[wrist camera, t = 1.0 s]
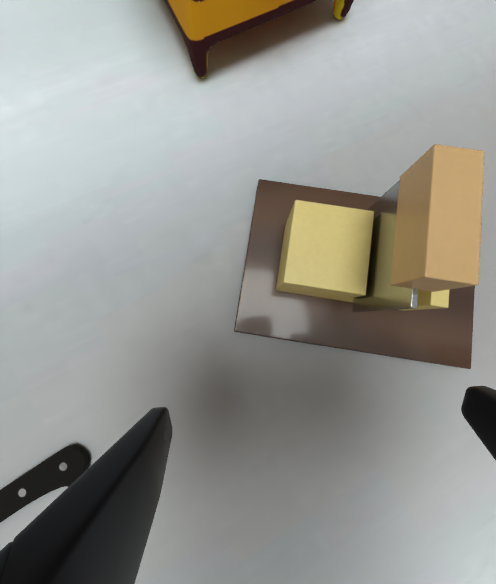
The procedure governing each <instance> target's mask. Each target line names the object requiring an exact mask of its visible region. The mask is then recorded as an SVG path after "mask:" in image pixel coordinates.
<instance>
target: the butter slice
mask: <svg viewBox="0 0 496 584" xmlns="http://www.w3.org/2000/svg"><path fill="white" fill-rule="evenodd" d="M448 304H449V290H442V291H435V292H430V291H424V290H418V298H417V308H415V309H400V310H421V309H439V308H448Z"/></svg>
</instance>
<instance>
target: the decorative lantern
mask: <svg viewBox="0 0 496 584" xmlns="http://www.w3.org/2000/svg"><path fill="white" fill-rule="evenodd" d="M164 1H165V3H166V4H167V6H168V8H169V10H170V12H171V14H172V16H173V18H174V20H175V22H176V24H177V25H178V27H179V29H180V31H181V33H182V36H183V38H184V40H185V43H186V45H187V48H188V51H189V55H190V58H191V61H192V65H193V68H194V71H195V72H196V74H197V76H199V77H200V78H204V77H206V75H207V55H208V50H209V49H210V47H212V46H213V45H214V44H215V43H217V42H219V41H221V40H224V39H226V38H228V37H231V36H233V35H236V34H238V33H240V32H243V31H245V30H247V29H250V28H252V27H255V26H257V25H259V24H262V23H264V22H266V21H269V20H271V19H274V18H276V17H278V16H281V15H283V14H285V13H288V12H290V11H293V10H295V9H297V8H300V7H302V6H305V5H307V4H309V3H312V2H314V1H316V0H164ZM352 3H353V0H334V7H333V12H334V16H335V18H336V19H339V20H340V19H342V18H343V17H345V16H346V14H347V13H348V11H349V10H350V7H351V5H352Z"/></svg>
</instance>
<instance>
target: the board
mask: <svg viewBox="0 0 496 584" xmlns="http://www.w3.org/2000/svg"><path fill="white" fill-rule="evenodd" d="M379 198H381V197H377V196H371V195H364V194H357V193H350V192H343V191H336V190H330V189H323V188H316V187H309V186H302V185H295V184H288V183H282V182H275V181H268V180H261V179H259V181H258V188H257V194H256V200H255V206H254V212H253V218H252V225H251V231H250V237H249V243H248V249H247V255H246V261H245V268H244V274H243V280H242V286H241V292H240V298H239V305H238V311H237V317H236V323H235V329H234V331H235V332H242V333H248V334H254V335H260V336H267V337H273V338H279V339H285V340H292V341H298V342H304V343H310V344H317V345H323V346H329V347H335V348H342V349H348V350H354V351H360V352H367V353H373V354H379V355H385V356H392V357H398V358H404V359H410V360H417V361H423V362H429V363H435V364H442V365H448V366H454V367H460V368H467V369H471V353H472V331H473V310H474V288H475V286H469V287H462V288H456V289H449V304H448V308H439V309H421V310H385V311H369V312H352V309H353V302H346V301H340V300H334V299H327V298H321V297H314V296H308V295H302V294H295V293H289V292H282V291H277V290H276V286H277V279H278V272H279V266H280V259H281V252H282V245H283V238H284V231H285V225H286V222H287V220H288V217H289V215H290V212H291V209H292V207H293V204H294V202H295V200H300V201H307V202H314V203H321V204H327V205H334V206H341V207H348V208H355V209H361V210H368V209H369V208H370V207H371V206H372V205H373V204H374V203H375V202H376V201H377V200H378V199H379Z"/></svg>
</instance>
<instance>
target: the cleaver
mask: <svg viewBox="0 0 496 584" xmlns="http://www.w3.org/2000/svg"><path fill="white" fill-rule="evenodd" d="M88 464H89V458H88V454H87V452H86V451H85V450H84V449H83V448H81V447H78V446H76V445H71V446H68V447H65V448H64V449H62V450H60V451H59V452H57V453H55V454H54V455H52V456H51V457H49V458H48V459H46V460H45V461H43V462H42V463H41V464H39V465H37V466H36V467H34V468H33V469H31V470H30V471H28V472H27V473H25V474H24V475H22V476H21V477H19V478H17V479H16V480H15V481H13V482H12V483H10V484H9V485H7V486H6V487H4V488H3V489H2V490H0V522H2V521H3V520H5V519H6V518H8V517H9V516H11V515H12V514H14V513H15V512H17V511H18V510H19V509H21V508H23V507H24V506H26V505H27V504H29V503H31V502H32V501H34V500H36V499H37V498H39V497H41V496H43V495H45V494H47V493H49V492H51V491H53V490H55V489H58V488H60V487H64V486H68V487H69V486H70V485H71V484H72V483H74V482H75V481H76V480H77V479H78V478H79V477H80V476H81V475H82V474H83V473H84V472H85V471H86V470H87V468H88Z"/></svg>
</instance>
